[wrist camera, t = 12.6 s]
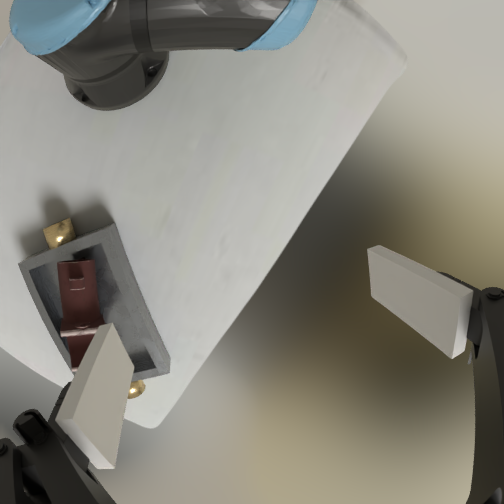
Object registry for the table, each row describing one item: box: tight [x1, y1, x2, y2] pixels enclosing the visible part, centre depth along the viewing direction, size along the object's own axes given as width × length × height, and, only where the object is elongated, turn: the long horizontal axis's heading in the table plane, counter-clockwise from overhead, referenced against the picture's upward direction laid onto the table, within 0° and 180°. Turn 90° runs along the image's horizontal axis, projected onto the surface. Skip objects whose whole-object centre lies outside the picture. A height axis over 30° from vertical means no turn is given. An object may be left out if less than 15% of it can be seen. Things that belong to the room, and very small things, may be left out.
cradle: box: [18, 218, 171, 399], centre depth 39 cm, size 29×16×4 cm, turn 15°
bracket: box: [57, 259, 105, 372], centre depth 36 cm, size 6×17×10 cm, turn 0°
